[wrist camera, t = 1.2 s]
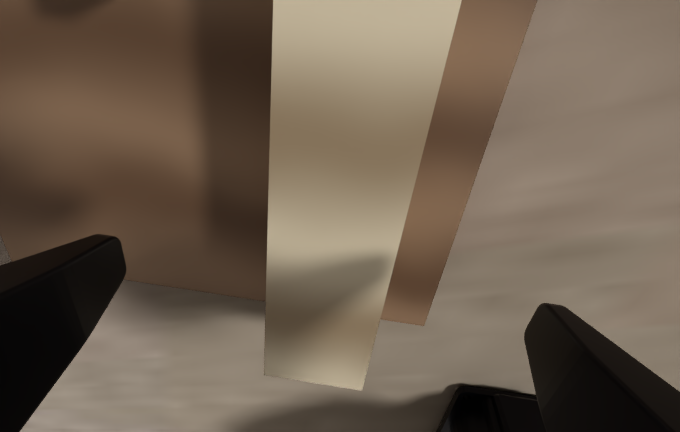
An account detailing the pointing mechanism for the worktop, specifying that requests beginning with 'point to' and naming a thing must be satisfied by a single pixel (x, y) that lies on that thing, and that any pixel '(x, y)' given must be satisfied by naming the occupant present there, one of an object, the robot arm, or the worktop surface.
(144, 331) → the worktop surface
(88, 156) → the mounting board
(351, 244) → the rail
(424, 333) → the worktop surface
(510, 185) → the worktop surface
